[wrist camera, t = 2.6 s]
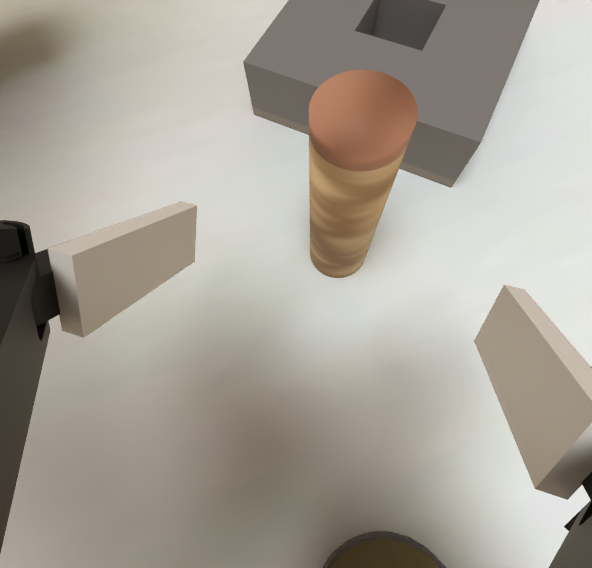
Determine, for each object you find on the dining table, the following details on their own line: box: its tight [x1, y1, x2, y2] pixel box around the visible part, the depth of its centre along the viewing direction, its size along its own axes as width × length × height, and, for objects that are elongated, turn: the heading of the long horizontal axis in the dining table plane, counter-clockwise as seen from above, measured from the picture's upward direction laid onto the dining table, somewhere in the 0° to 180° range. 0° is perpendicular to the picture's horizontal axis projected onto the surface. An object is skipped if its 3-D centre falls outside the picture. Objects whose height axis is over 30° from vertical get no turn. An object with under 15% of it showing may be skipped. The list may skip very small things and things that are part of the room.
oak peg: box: [309, 70, 418, 278], centre depth 23 cm, size 5×5×16 cm
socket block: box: [244, 0, 539, 187], centre depth 34 cm, size 22×22×6 cm
